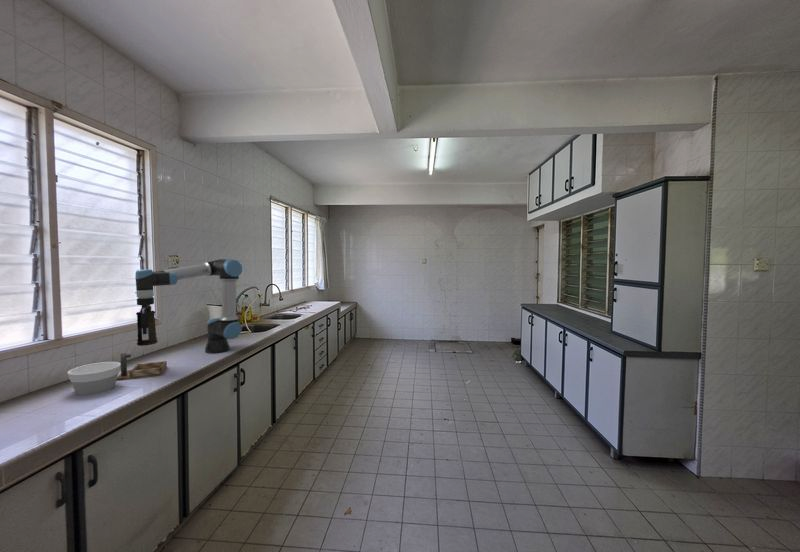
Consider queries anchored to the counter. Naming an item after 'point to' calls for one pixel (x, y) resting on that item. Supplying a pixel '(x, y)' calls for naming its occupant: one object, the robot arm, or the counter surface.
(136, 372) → the hook shelf
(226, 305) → the robot arm
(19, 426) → the counter surface
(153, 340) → the container
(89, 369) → the bowl
